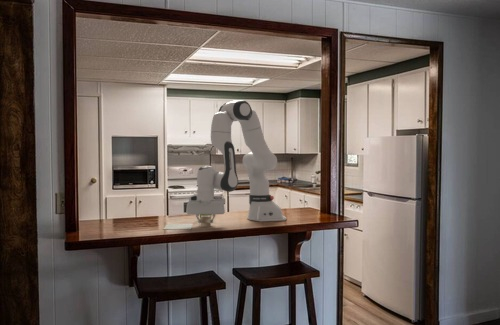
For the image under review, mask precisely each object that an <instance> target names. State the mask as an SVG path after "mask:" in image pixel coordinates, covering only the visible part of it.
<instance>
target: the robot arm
mask: <svg viewBox="0 0 500 325" xmlns="http://www.w3.org/2000/svg"><path fill="white" fill-rule="evenodd" d="M233 122H238V123H239V124H240V126H241V127H240V128H241V132H242V136H243V140H244V143H245V145H246V147H248V149H249V150H250V152H246V153H245V154H244V155H243V157H242V165H243V167H244V168H245V169H246V172H247V175H248V180H249V196H248V203H249V209H248V215H247V218H246V219H247V220H250V221H256V222H278V221H280V222H281V221H286V220H287V217H286V215H283V210H282V208H281V207H280V205H278V204H277V203H275V202H274V201H273V200H274V199H275V197H274V195H272V194H270V181H269V179H268V178H267V177H266V174H265V172H268V171H271V170H274V169H276V167H277V165H278V158H277V156H276V154H274V153H273V152H272V151H271V149H270V148H269V146H268V144H267V142H266V140H265V137H264V133H263V129H262V125H261V122H260V119H259V117H258V113H257V111H256V110H253V109H252V107H251V105H250V103H249V102H248V101H245V100H242V99H239V100H231V101H229V102H225V103H223V104H221V105H220V107H219V109H218V112H216V113H214V115H213V117H212V119H211V126H210V143H211V145H212V146H213V147H214V148H215V149H217V150H218V151H219V152H220V153H221V154H222V157H223V169H224V171H220V170H217V169H216V168H214V167H213V166H212V165H204V166H200V167H199V168H198V169H197V174H196V176H197V177H196V179H197V180H196V184H197V190H196V193H194V194H191V195H189V196H188V202H187V203H186V208H185V209H186V210H185V211H186V214H187V215H195V217H196V219H197V223H198V224H201V219H200V214H212V215H211V216H212V217H211V219H210V223H211V224H213V223H214V219H215V218H216V215H224V214H225V211H226V210H225V209H226V208H225V205H226V198H224V197H223V196H215V190H220V191H225V192H227V193H231V192H233V191H235V190H236V188H238V186H239V185H238V184H239V177H238V174H237V173H238V172H237V167H236V165H237V164H236V152H235V147H234V144H233V140H232V125H233Z"/></svg>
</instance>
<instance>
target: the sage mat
mask: <svg viewBox="0 0 500 325" xmlns="http://www.w3.org/2000/svg"><path fill="white" fill-rule="evenodd" d="M193 226H194V224H193V223H167V224H166V225H165V226H164V227H163V230H192V228H193Z"/></svg>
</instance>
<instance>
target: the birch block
mask: <svg viewBox="0 0 500 325" xmlns="http://www.w3.org/2000/svg"><path fill="white" fill-rule="evenodd" d="M210 219H212V215H211V216H201V223H200V227H202V228H205V227H207V228H208V227H209V228H211V224H212V223H210Z"/></svg>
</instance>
